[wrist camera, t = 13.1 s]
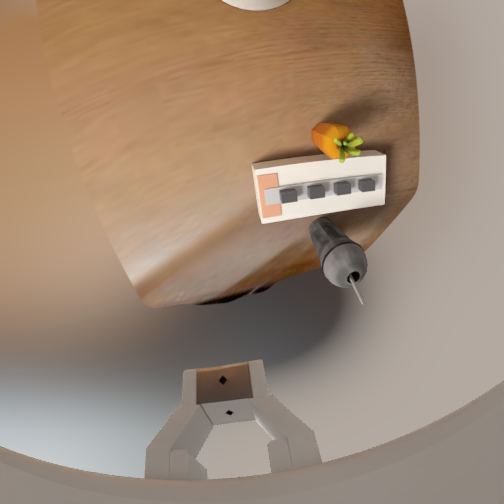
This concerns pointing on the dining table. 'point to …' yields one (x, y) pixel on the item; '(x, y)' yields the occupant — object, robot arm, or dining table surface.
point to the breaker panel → (324, 172)
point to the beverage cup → (338, 255)
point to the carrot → (336, 140)
